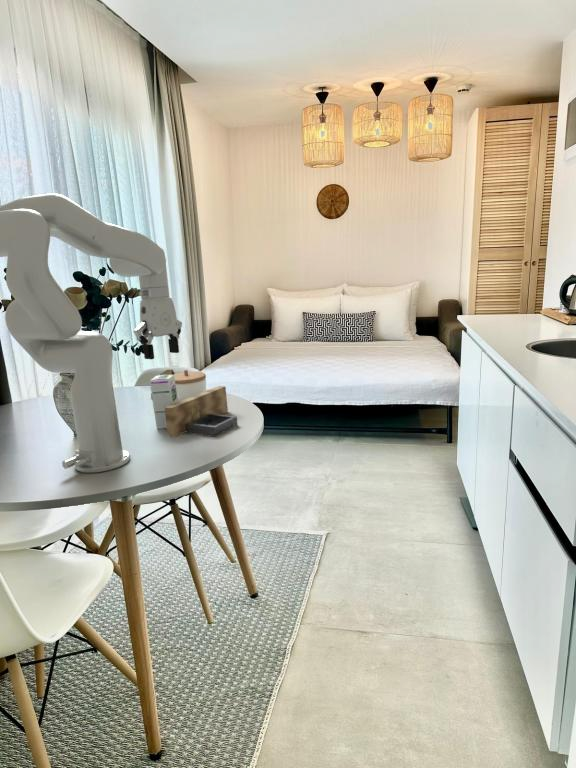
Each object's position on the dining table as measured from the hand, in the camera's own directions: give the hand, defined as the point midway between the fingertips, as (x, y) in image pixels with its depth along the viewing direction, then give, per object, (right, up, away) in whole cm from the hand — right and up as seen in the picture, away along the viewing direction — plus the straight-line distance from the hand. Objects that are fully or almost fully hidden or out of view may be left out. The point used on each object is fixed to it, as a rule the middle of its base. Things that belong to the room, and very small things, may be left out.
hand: (162, 355), depth 147 cm
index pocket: (+14, -20, -1) cm, 25 cm away
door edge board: (+10, -19, +5) cm, 22 cm away
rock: (-8, -12, +39) cm, 41 cm away
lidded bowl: (+2, -14, +28) cm, 32 cm away
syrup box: (+1, -20, +4) cm, 21 cm away
